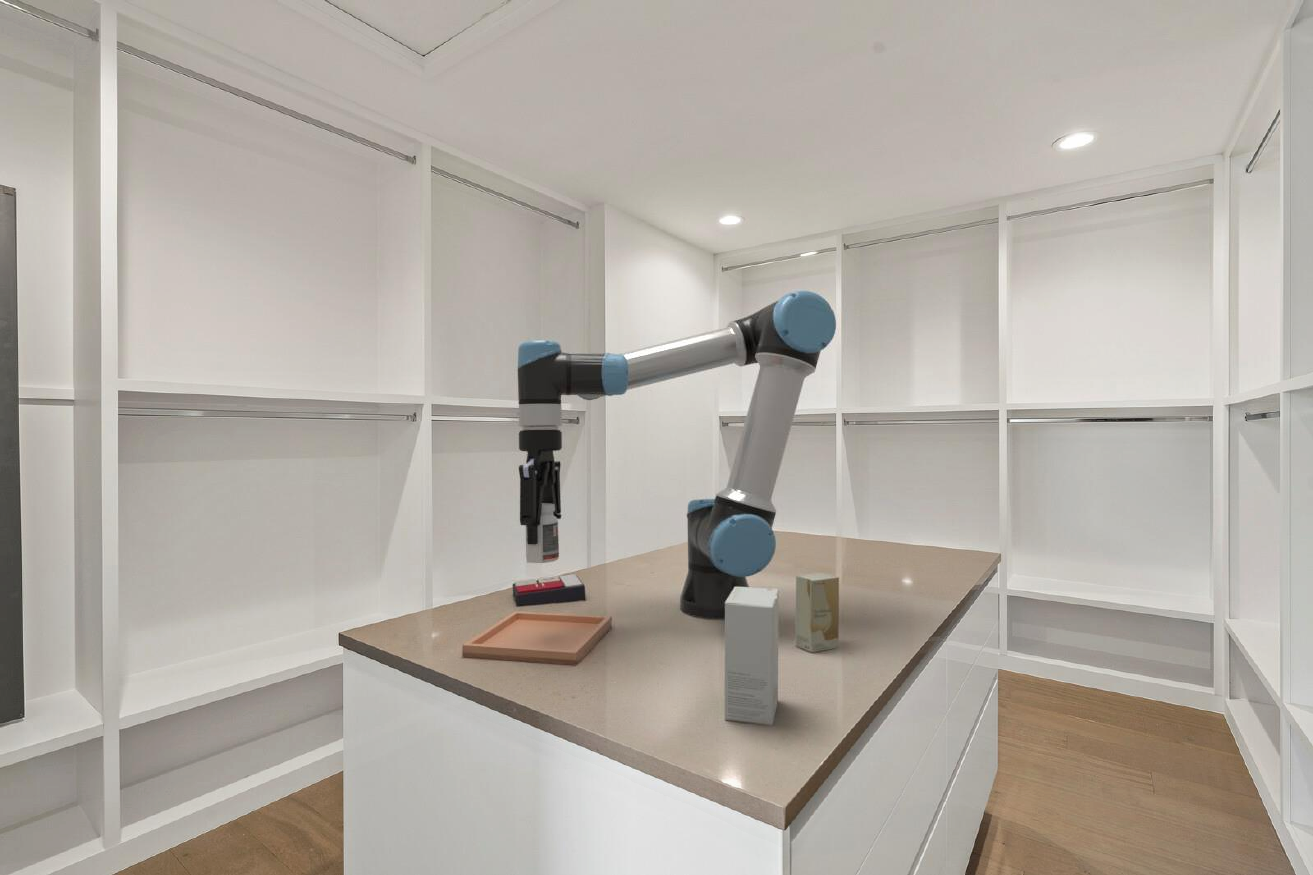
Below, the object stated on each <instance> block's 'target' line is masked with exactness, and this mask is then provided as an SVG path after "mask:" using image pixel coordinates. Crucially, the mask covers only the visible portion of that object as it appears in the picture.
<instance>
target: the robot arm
mask: <svg viewBox="0 0 1313 875" xmlns="http://www.w3.org/2000/svg"><path fill="white" fill-rule="evenodd" d="M836 327H837V319H836V315H835V312H834V309H832V307H831V305H830V304H829V302H828V301H827V300H826V299H825V298H824V297H823V296H821V295H820V294H818V293H816V292H814V291H809V290H798V291H794V292H790V293H787V294H784V295H782V296H781V297H780V298H779V299H777V300H776V301H775V302H773V303H771V304H768V305H766V306H765V307H763V308H760V309H759V310H758V311H756V312H754V313H752V314H750V315H747V316H745V317H743V318H739V319H736V320H732V321H729V322H728V324H727V326H726V327H723V328H719V329H715V330H712V331H707V332H704V333H703V332H702V333H699V334H695V335H691V336H687V337H683V338H679V339H675V340H671V341H666V342H662V343H659V344H653V345H649V346H646V347H642V348H638V349H632V350H630V351H625V352H620V353H610V352H606V353H569V352H568V353H567V352H562V349H561V345H560V343H559V342H558V341H553V340H546V339H545V340H543V339H534V340H527V341H526V340H525V341H523V342H522V343H521V344H520V345H519V346H518V349H517V350H518V351H517V352H518V354H517V393H518V394H517V395H518V396H517V398H518V410H517V411H516V415H517V416H518V426H519V427H522V430H519V431H518V450H519V451H521V452H527V455H526V460H525V461H526V463H525V464H520V465H518V473H519V524H520V526H525V543H526V542H527V558H526V563H528V564H544V563H543V525H540V519H541V509H542V503H551V504H554V505H555V511H554V512H553V515H554V516H555V517H556V518H557V519H558V520H561V518H562V514H561V513H562V509H561V508H562V507H561V506H562V504H561V502H562V501H561V461H560V460H559V461H557V460H555V456H554V452H557V451H561V450H562V447H563V441H562V440H563V434H562V433H563V432H562V431H561V429H559V427H561V426H562V425H563V420H562V418H563V417H562V396H578V397H579V398H581V399H582V400H586V401H592V400H597V399H599V398H602V397H605V396H606V397H613V396H620V395H621V396H622V395H625V394H626V393H627V391H628V390H633V389H637V388H641V387H644V386H645V387H646V386H648V385H652V384H655V383H661V382H665V381H668V380H672V379H676V378H680V377H681V378H682V377H684V376H688V375H692V374H696V373H700V372H705V371H708V370H713V369H716V368H717V369H718V368H720V367H725V366H728V365H732V364H735V365H736V366H738V367H739V368H740V367H744V366H745V367H746V366H749V365H754V364H758V365H759V370H758V372H757V373H758V374H757V377H756V380H755V381H756V382H755V384H754V388H753V392H752V395H751V399H750V403H749V406H748V411H747V413H746V417H745V420H744V424H743V427H742V430H741V433H740V434H741V435H740V438H739V442H738V446H737V448H736V453H735V456H734V460H733V464H732V465H731V466H732V467H731V470H730V474H729V477H728V482H727V484H726V487H724V489H722V490H721V491H719V492H717V493H716V495H715V498H705V499H692V500H690V501H689V502H688V504H687V512H686V518H687V559H688V560H687V564H688V565H687V566H688V567H687V568H688V569H687V570H688V571H687V574H686V578H685V581H684V584H683V588H682V592H681V594H680V597H679V598H680V599H679V602H680V603H679V605H680V606H679V607H680V611H681V612H683V613H685V614H686V615H689V616H693V617H698V618H706V619H725V602H726V600H727V598H728V597H729V595H730V594H731V592H732V590H733V589H734V587H749V583H748V580H747V578H748V577H751V576H754V575H756V574H758V573H760V572H761V571H763V570H764V569H765V568H767V566H768V565H769V564H770V563H771V561H772V559H773V557H774V555H775V552H776V546H777V542H776V536H775V534H774V533H775V532H774V530H773V527H774V526H773V525H774V521H775V518H776V514H777V509H776V507H775V505H774V504H773V502H772V496H773V493H774V490H775V487H776V484H777V479H778V475H779V472H780V469H781V464H782V462H783V457H784V453H785V450H786V447H787V443H788V439H789V435H790V431H791V429H792V425H793V422H794V417H795V414H796V410H797V406H798V404H799V399H800V396H801V393H802V389H803V384H804V380H805V379H806V378H807V377H809V376H810V375H812V374H814V373H815V372H816V369H817V366H818V362H819V359H820V354H821V351H823V350H825V348H827V347H828V346H829V344H830V343H831V342H832V340H833V339H834V336H835V334H836V329H837V328H836Z"/></svg>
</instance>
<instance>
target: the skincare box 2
mask: <svg viewBox="0 0 1313 875" xmlns="http://www.w3.org/2000/svg"><path fill="white" fill-rule="evenodd" d="M795 588H796V589H795V646H797V647H799V648H801V649H803V650H806V651H808V652H809V653H815V652H820V651H826V650H827V651H828V650H833V649H838V648H839V641H840V640H839V638H840V637H839V634H840V633H839V624H840V623H839V622H840V621H839V619H840V618H839V617H840V616H839V613H840V610H839V608H840V596H839V595H840V593H839V592H840V577H839V576H835V575H832V574H829V573H826V572H818V573H817V572H816V573H807V574H801V575H799V574H798V575H796V576H795Z"/></svg>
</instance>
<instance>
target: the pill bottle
mask: <svg viewBox="0 0 1313 875" xmlns="http://www.w3.org/2000/svg"><path fill="white" fill-rule="evenodd" d="M554 511H555V505H554V504H551V503H542V509H541V519H540V525H543V563H542V564H547V563H553V562H556V561H557V560H559V558H560V553H559V552H560V551H559V550H560V549H559V548H560V547H559V546H560V545H559V541H560V540H559V519H557V518H556V517H555V516H554V515H553V512H554ZM525 545H526V546H525V548H526V551H525V556H526V559H527V542H526V541H525Z"/></svg>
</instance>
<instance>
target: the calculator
mask: <svg viewBox="0 0 1313 875" xmlns="http://www.w3.org/2000/svg"><path fill="white" fill-rule="evenodd" d="M512 595H513V599H514V602H515V605H516V607H518V608H519V607H520V608H521V607H529V606H538V605H540V606H541V605H542V606H543V605H549V604H558V603H570V602H571V603H572V602H573V603H574V602H583V601H586V600H587V599H586V586H585V584H584V583H583V582H582V580H581V579H580V578H579V576H578V575H577V574H568V575H561V576H558V575H554V576H545V577H538V578H537V579H536V578H531V579H529V578H528V579H523V580H522V579H521V580H515V581H514V583H512Z"/></svg>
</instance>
